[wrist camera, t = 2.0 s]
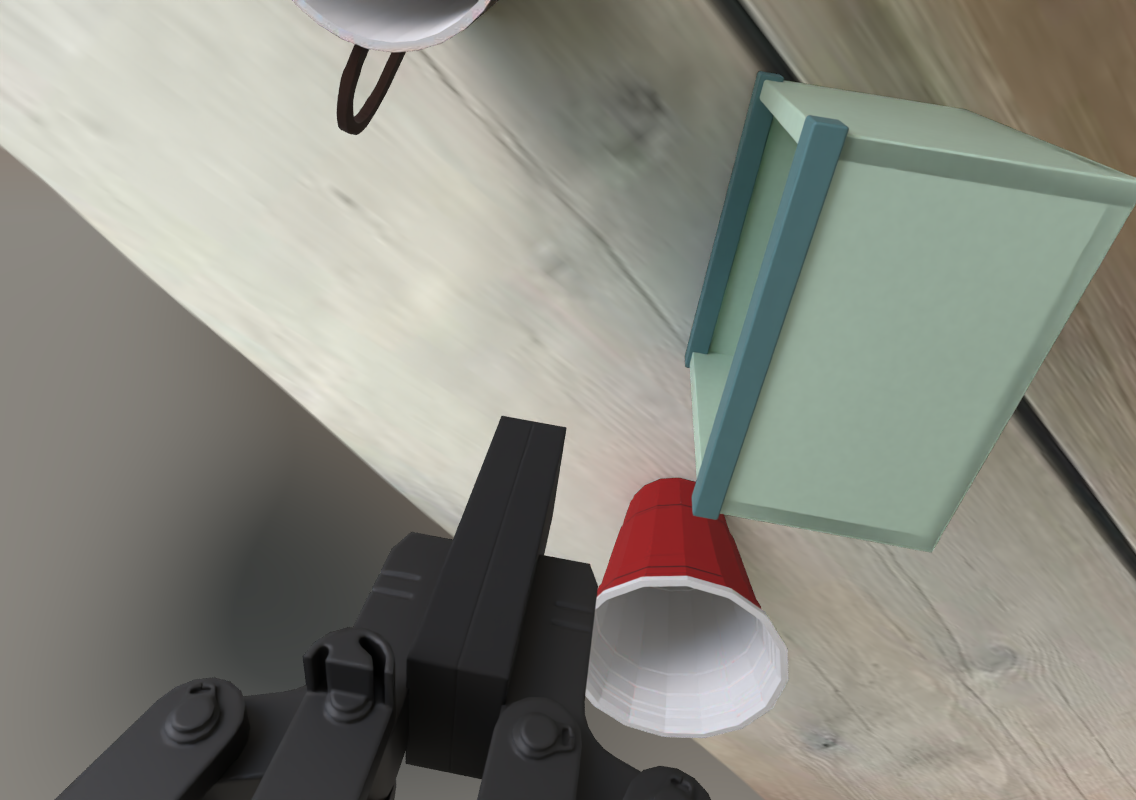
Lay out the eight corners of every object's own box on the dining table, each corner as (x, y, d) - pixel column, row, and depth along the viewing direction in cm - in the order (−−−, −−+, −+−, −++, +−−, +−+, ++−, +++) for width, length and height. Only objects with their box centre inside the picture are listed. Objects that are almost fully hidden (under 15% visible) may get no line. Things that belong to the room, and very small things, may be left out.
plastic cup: (737, 420, 39) (762, 574, 29) (778, 555, 44) (812, 726, 33) (563, 462, 42) (530, 613, 32) (619, 583, 47) (606, 748, 36)
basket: (757, 70, 29) (813, 120, 18) (969, 104, 29) (1158, 176, 18) (684, 357, 37) (692, 516, 26) (851, 386, 37) (931, 560, 25)
